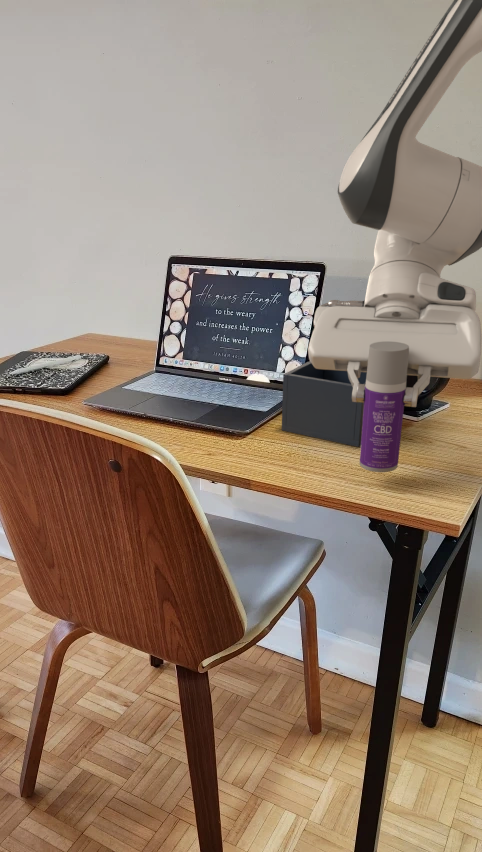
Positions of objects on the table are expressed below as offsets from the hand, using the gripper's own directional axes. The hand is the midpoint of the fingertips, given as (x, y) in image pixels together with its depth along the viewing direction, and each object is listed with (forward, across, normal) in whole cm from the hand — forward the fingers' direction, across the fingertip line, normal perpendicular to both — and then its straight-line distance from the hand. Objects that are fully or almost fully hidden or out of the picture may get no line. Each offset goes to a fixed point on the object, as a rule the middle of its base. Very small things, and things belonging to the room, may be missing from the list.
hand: (383, 402), depth 82 cm
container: (+6, 0, +6) cm, 9 cm away
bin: (-6, -9, +22) cm, 24 cm away
